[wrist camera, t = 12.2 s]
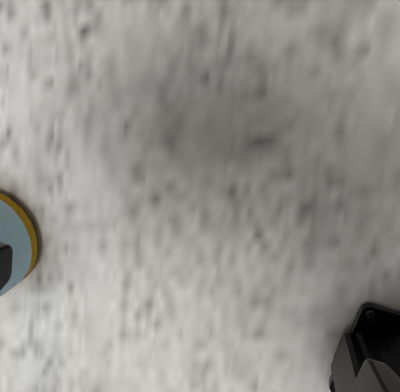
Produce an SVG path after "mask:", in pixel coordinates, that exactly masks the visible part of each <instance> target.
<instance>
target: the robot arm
mask: <svg viewBox="0 0 400 392" xmlns="http://www.w3.org/2000/svg"><path fill="white" fill-rule="evenodd" d="M12 261H13V248H12V247H11V245H9V244H5V243H2V242H0V291H1V290H2V288H3V287H4V286H5V285H6V284H7V283H8V281H9V279H10V277H11V274H12ZM367 311H373V313H372V314H370V315H368V314H366V312H367ZM331 369H332V375H331V378H330V380H329V388H330V391H331V392H400V312H398V311H395V310H392V309H388V308H385V307H382V306H378V305H375V304H371V303H366V304H364V305H362V306H361V307H360V309H359V311H358V314H357V316H356V319H355V321H354V323H353V326H352V328H351V330H350V332H347V333H346V334H344V336H343V338H342V340H341V343H340V345H339V348H338V350H337V352H336V355H335V357H334V360H333V362H332V364H331Z"/></svg>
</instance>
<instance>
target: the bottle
mask: <svg viewBox="0 0 400 392" xmlns="http://www.w3.org/2000/svg"><path fill="white" fill-rule="evenodd" d="M0 242H2V243H5V244H9V245H11V247H12V248H13V261H12V274H11V277H10V279H9V281H8V283H7V284H6V285H5V286H4V287H3V288H2V290H1V291H0V296H2V295H3V294H4V293H6V292H7V291H8V290H10V289H11V288H12V287H14V286H15V285H16V284H18V283H19V282H20V281H21V280H22V279H23V278H25V277H26V276H27V275H28V274H29V273H30V271H31V270H32V268H33V267H34V265H35V261H36V257H37V251H38V249H37V239H36V233H35V230H34V228H33V225H32V223H31V220H30V219H29V217H28V216H27V215H26V213H25V212H24V211H23V209H22V208H21V207H20V206H18V205H17V204H16V203H15V202H13V201H12V200H11V199H10V198H8V197H7V196H5V195H3V194H1V193H0Z"/></svg>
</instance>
